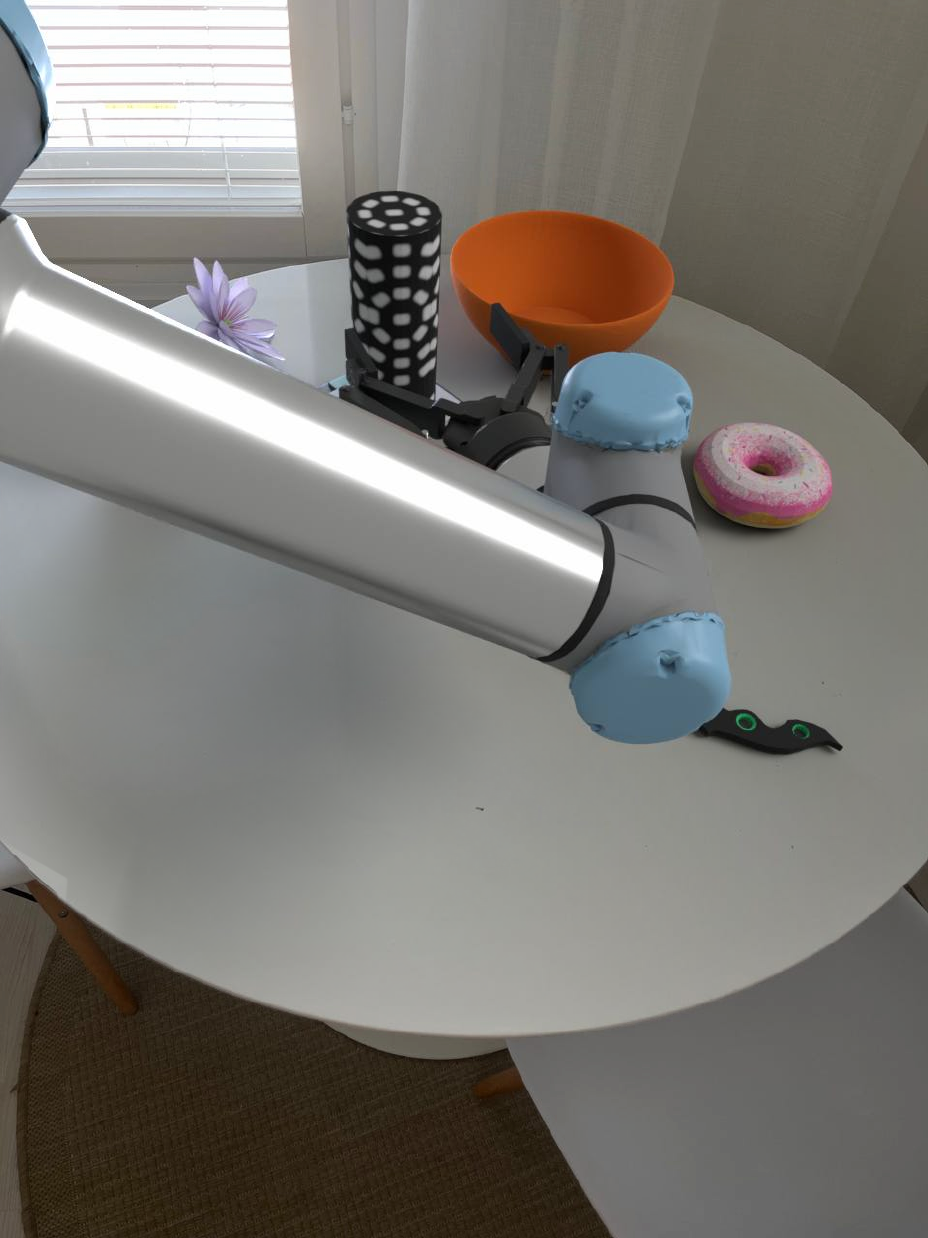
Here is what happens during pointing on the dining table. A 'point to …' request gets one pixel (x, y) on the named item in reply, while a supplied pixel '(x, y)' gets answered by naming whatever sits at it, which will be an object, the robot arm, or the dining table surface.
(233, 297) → the water lily
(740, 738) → the knife
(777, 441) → the donut
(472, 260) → the bowl
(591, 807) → the dining table surface
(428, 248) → the white-spotted black cylinder
